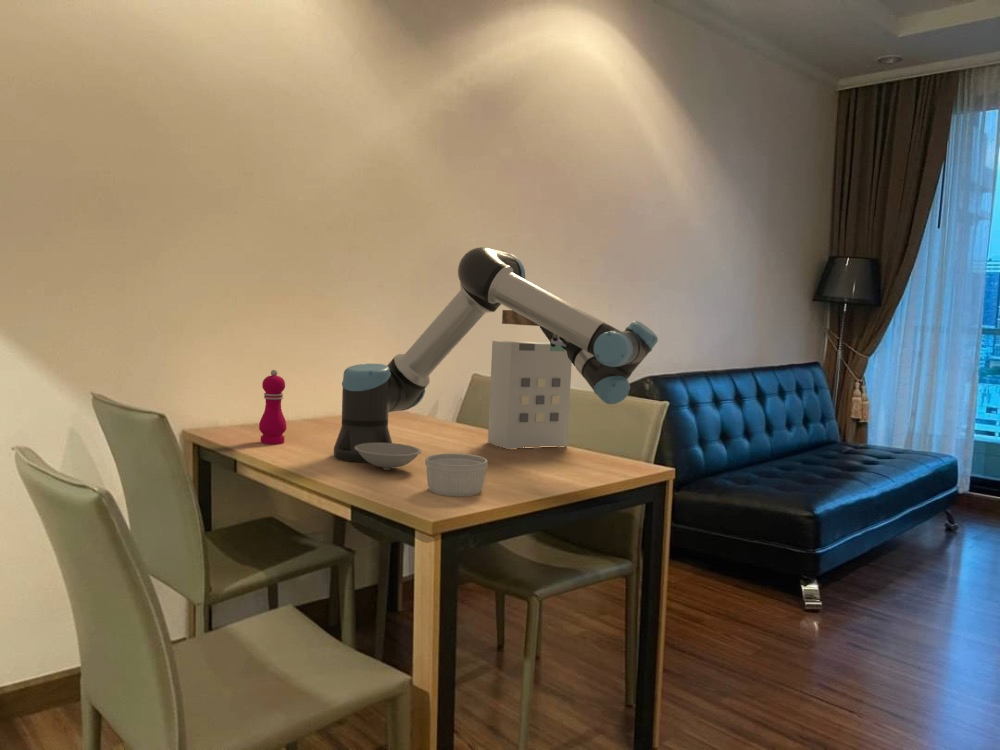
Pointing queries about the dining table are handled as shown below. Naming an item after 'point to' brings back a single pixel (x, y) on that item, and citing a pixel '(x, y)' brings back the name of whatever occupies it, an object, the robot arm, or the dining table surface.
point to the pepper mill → (273, 410)
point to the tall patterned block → (529, 395)
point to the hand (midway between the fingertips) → (547, 308)
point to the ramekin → (455, 474)
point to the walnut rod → (515, 318)
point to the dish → (387, 454)
